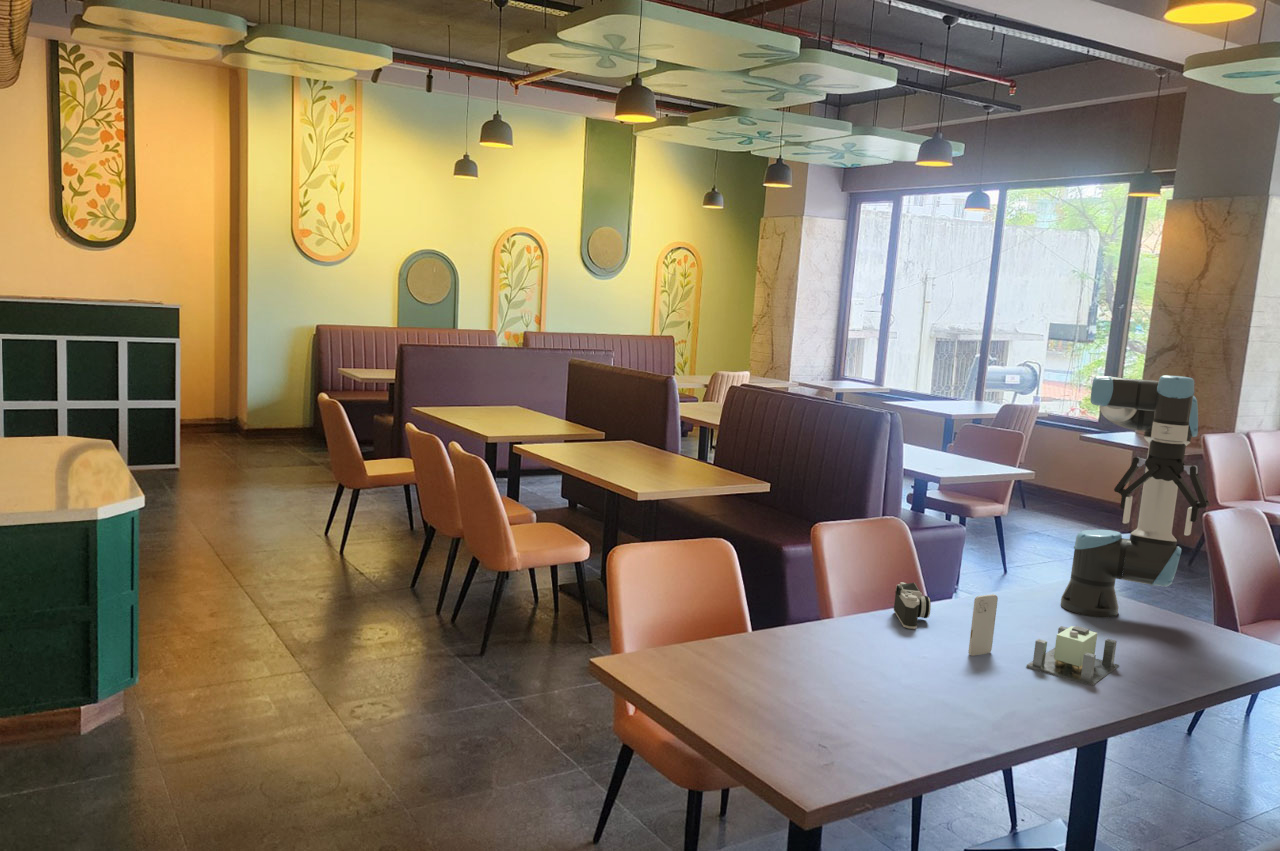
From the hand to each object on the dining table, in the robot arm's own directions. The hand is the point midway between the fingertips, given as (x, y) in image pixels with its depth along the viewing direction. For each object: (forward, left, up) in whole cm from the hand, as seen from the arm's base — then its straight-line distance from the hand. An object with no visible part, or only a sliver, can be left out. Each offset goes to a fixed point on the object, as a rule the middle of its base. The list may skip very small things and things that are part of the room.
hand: (1155, 528), depth 235 cm
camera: (+14, -53, -35) cm, 65 cm away
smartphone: (+25, -29, -35) cm, 51 cm away
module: (+16, -10, -32) cm, 37 cm away
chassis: (+16, -10, -34) cm, 39 cm away
